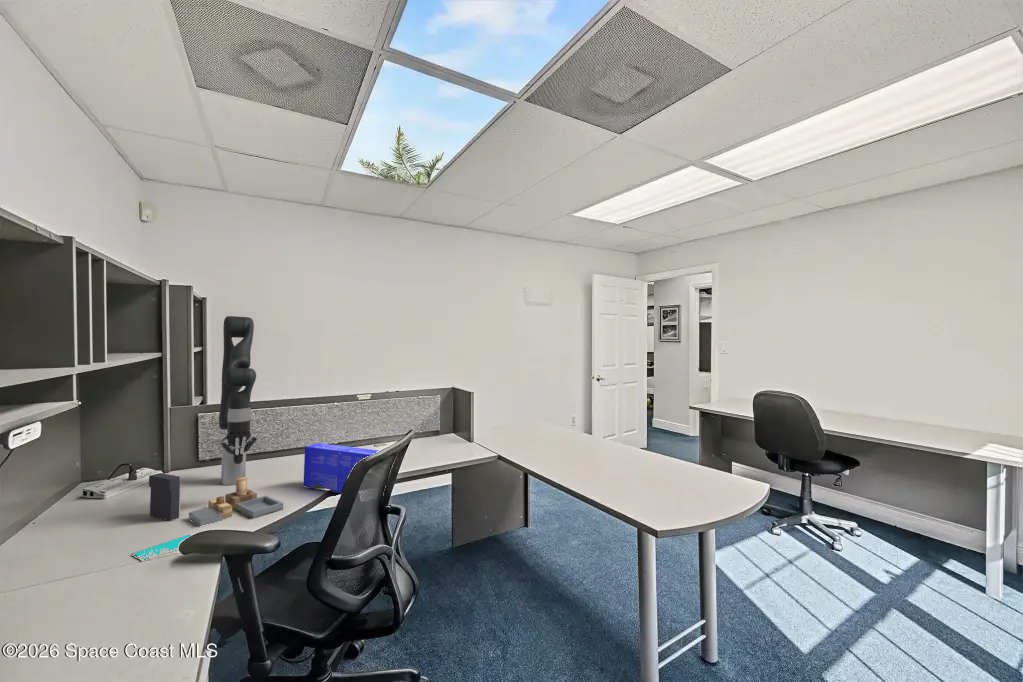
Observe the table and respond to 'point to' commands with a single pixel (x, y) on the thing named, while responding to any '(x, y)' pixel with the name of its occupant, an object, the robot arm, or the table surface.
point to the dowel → (241, 486)
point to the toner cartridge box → (331, 464)
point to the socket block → (239, 498)
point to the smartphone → (169, 545)
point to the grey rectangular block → (206, 516)
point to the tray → (259, 506)
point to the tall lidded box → (164, 496)
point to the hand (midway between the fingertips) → (237, 463)
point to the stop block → (221, 506)
